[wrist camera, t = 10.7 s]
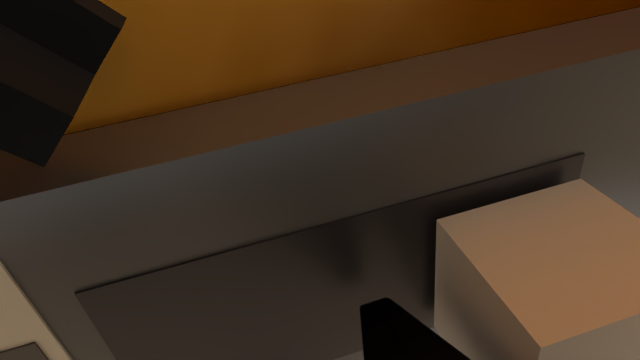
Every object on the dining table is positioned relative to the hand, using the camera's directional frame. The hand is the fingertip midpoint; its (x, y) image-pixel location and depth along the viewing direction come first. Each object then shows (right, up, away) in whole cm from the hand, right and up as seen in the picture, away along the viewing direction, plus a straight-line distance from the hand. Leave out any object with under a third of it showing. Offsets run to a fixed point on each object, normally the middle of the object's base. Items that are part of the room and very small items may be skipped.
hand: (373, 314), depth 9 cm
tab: (+3, +1, +1) cm, 3 cm away
